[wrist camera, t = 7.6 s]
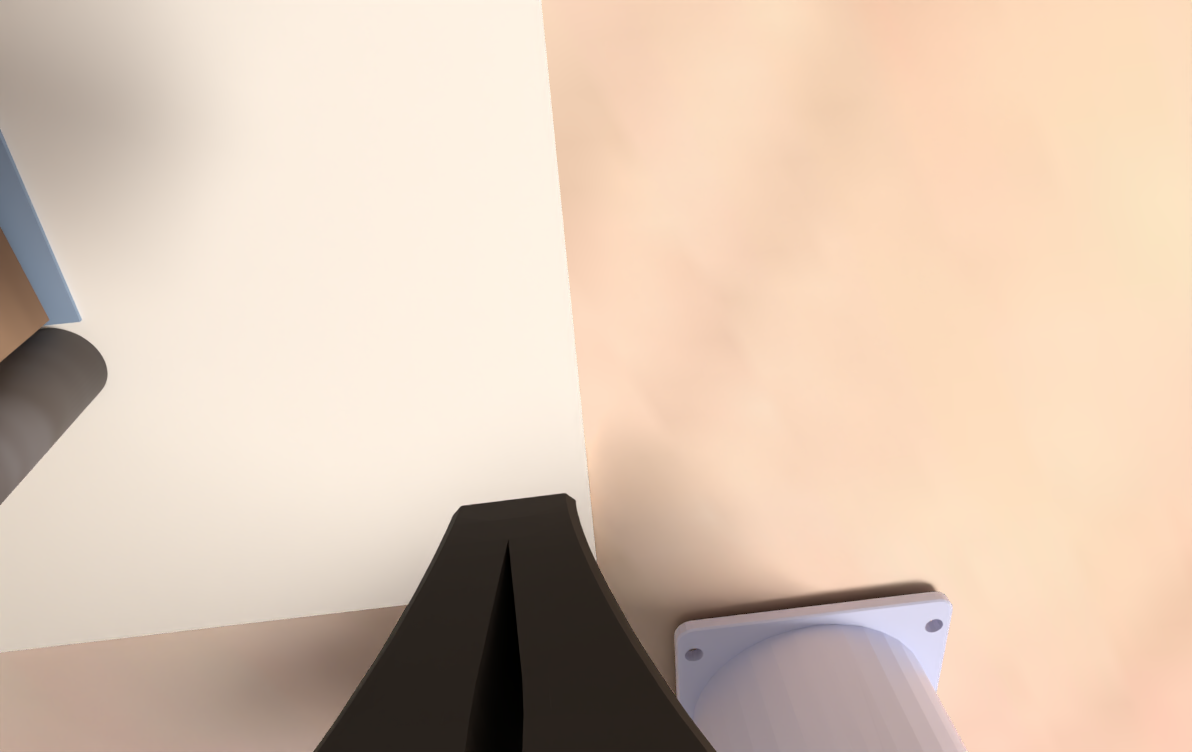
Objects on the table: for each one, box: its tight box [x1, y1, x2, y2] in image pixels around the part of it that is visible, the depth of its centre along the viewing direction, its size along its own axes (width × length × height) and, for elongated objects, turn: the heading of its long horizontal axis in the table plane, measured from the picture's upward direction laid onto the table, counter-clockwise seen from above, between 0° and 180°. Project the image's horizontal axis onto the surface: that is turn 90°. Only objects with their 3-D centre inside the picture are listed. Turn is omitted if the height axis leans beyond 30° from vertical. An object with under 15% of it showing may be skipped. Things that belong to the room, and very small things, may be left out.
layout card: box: [0, 0, 597, 653], centre depth 17 cm, size 20×22×1 cm
